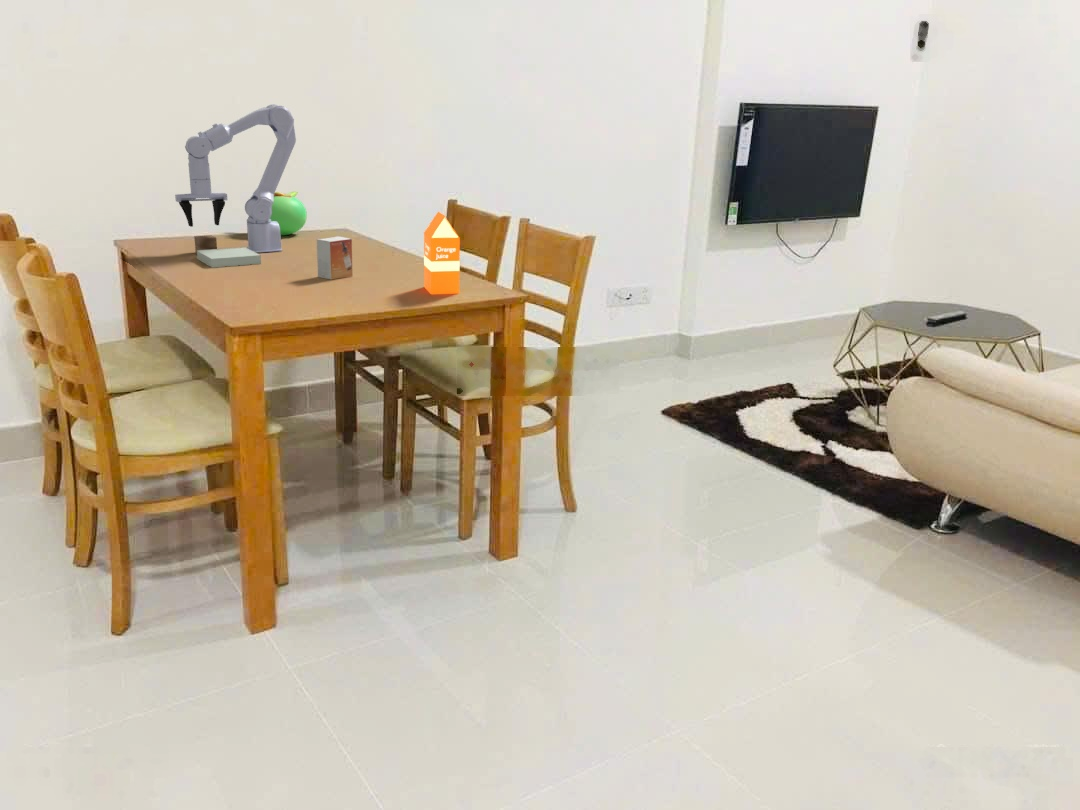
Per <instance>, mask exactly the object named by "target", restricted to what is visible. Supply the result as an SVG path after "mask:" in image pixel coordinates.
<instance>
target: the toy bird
mask: <svg viewBox="0 0 1080 810" xmlns="http://www.w3.org/2000/svg"><path fill="white" fill-rule="evenodd" d="M297 195H298V191H291V192H289V193H282V192H278V191H275V193H274V200H273V204H272V215H271V217H270V219H271V221H277V222H278V224H279V227H280V234H281V236H287V235H292V234H295V233H297V232H299V231H300V230H301V229H302V228H303V227H304V226H305V225H306V222H307V217H308V216H307V215H308V214H307V209H306V207H305V205H304V204H303V202H302V201H301V200H300V199H298V198H297V197H296V196H297ZM251 197H252V195H251V196H250V198H251Z"/></svg>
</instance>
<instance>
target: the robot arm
mask: <svg viewBox="0 0 1080 810" xmlns="http://www.w3.org/2000/svg"><path fill="white" fill-rule="evenodd" d="M259 125H260V126H261V125H262V126H269V127H270V128H271V129H272V131H273V133H274V136H275V138H276V140H277V141H276V143H275V145H274V147H273V150H272V153H271V155H270V157H269V160H268V162H267V165H266V166H265V170H264V172H263V175H262V177H261V179H260V181H259V183H258V186H257V188H256V189H255V190H254V191H253V193H252V195H251V196H252V197H251V196H250V198H248V199H247V201H246V202H245V204H244V211H245V213H246V214H247V216H248V218H247V219H246V230H247V243H248V245H247V246H244V247H245V248H247V249H249V250H251V251H253V252H255V253H257V254H259V253H270V252H272V253H273V252H282V251H283V248H282V239H281V237H282V235H281V234H280V227H279V224H278V222H277V221H271V219H270V217H271V215H272V204H273V200H274V193H275V192H277V191H276V190H277V188H278V186H279V183H280V180H281V178H282V176H283V175H284V172H285V169H286V168H287V167H286V166H287V164H288V162H289V159H290V157H291V154H292V153H293V150H294V148H295V145H296V141H297V137H296V131H295V118H294V117H293V115H292V113H291V112H290V110H289V109H288V108H287V107H285V106H283V105H277V104H269V105H267V106H266V107H261V108H258V109H256V110H252V111H251V112H249V113H248V114H246V115H244V116H242V117H240V118H239V119H237V120H235V121H233V122H231V123H229V124H223V123H219V124H218V123H214V124H212V127H210V128H209V129H206V130H205V131H203V132H202V131H199V132H197V136H196V135H195V136H194V135H193V136H190V137H189V138H187V140H186V142H185V145H184V148H185V150H186V152H187V159H188V174H189V175H188V176H189V183H190V184H189V185H190V193H181V194H179V193H177V194H175V195H174V197H175V202H176V203H178V204H179V207H180V208H181V210H182V211H183V214H184V215H185V218H186V221H187V224H188V227H191V228H192V227H194V221H193V210H192V209H193V204H192V203H191V202H205V201H207V202H208V201H211V203H212V210H213V222H214V225H216V226H220V220H221V215H222V212H223V209H224V207H225V204H226V201H228V194H227V193H225V192H212V185H211V184H212V183H211V180H212V179H211V172H210V171H211V169H210V162H209V154H210V152H214V151H216V150H217V149H220V148H222V147H224V146H226V145H227V144H230V143H232V141H233V138H234V136H235V135H238V134H240V133H242V132H244V131H246V130H248V129H249V130H250V129H251V128H253V127H256V126H259Z"/></svg>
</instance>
